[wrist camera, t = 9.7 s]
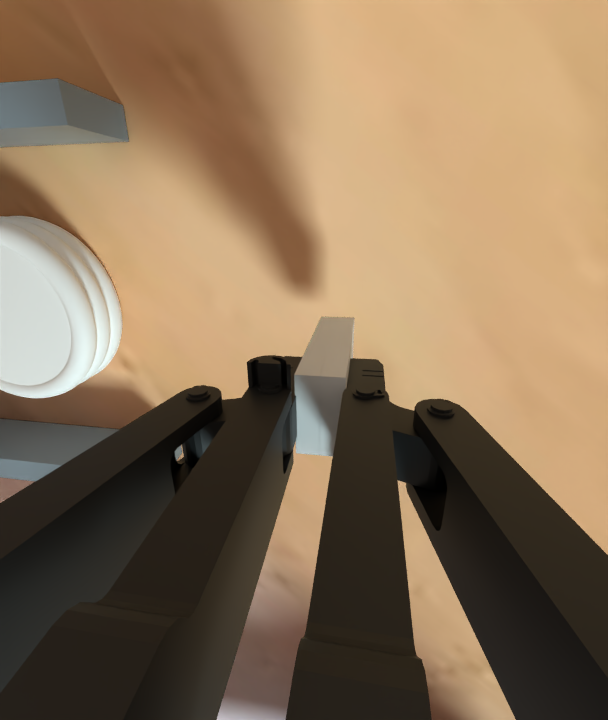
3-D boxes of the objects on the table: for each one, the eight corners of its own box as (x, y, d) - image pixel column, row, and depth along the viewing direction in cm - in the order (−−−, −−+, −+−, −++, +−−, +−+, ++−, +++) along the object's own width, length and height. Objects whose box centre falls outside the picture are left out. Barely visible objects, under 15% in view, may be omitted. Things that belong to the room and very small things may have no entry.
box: (182, 453, 25) (150, 494, 21) (-23, 433, 28) (-83, 467, 24) (122, 105, 17) (57, 78, 14) (-154, 122, 20) (-270, 103, 16)
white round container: (-50, 220, 21) (-123, 222, 18) (102, 210, 20) (50, 210, 17) (11, 375, 25) (-41, 399, 22) (143, 378, 24) (107, 405, 20)
